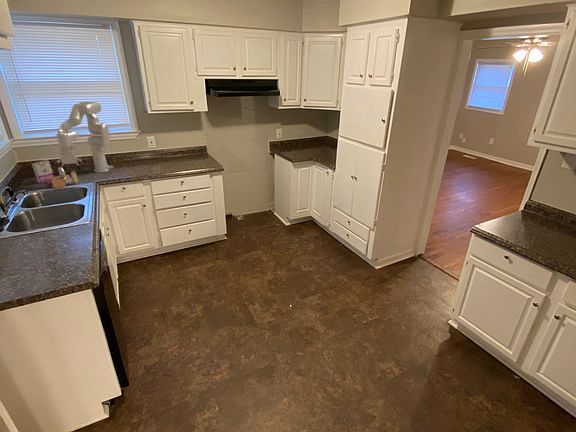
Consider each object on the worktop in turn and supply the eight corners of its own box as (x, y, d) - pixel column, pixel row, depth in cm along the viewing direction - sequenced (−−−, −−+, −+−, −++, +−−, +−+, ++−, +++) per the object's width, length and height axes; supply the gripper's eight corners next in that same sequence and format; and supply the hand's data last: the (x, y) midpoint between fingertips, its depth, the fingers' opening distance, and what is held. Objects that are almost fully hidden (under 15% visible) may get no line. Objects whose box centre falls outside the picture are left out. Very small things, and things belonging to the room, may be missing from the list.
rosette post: (73, 179, 264) (69, 165, 259) (67, 187, 248) (62, 172, 243) (59, 180, 261) (55, 166, 256) (52, 188, 245) (47, 173, 240)
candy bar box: (52, 179, 264) (46, 160, 257) (55, 180, 262) (49, 161, 255) (37, 182, 256) (31, 163, 249) (40, 183, 253) (34, 164, 246)
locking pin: (79, 182, 257) (75, 171, 253) (78, 184, 255) (74, 172, 250) (74, 183, 256) (71, 171, 252) (73, 184, 254) (70, 172, 249)
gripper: (80, 147, 249) (85, 168, 256) (54, 148, 243) (60, 169, 250) (78, 149, 243) (83, 170, 250) (51, 150, 237) (58, 172, 244)
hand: (72, 170), depth 250 cm, fingers open, 9 cm apart
